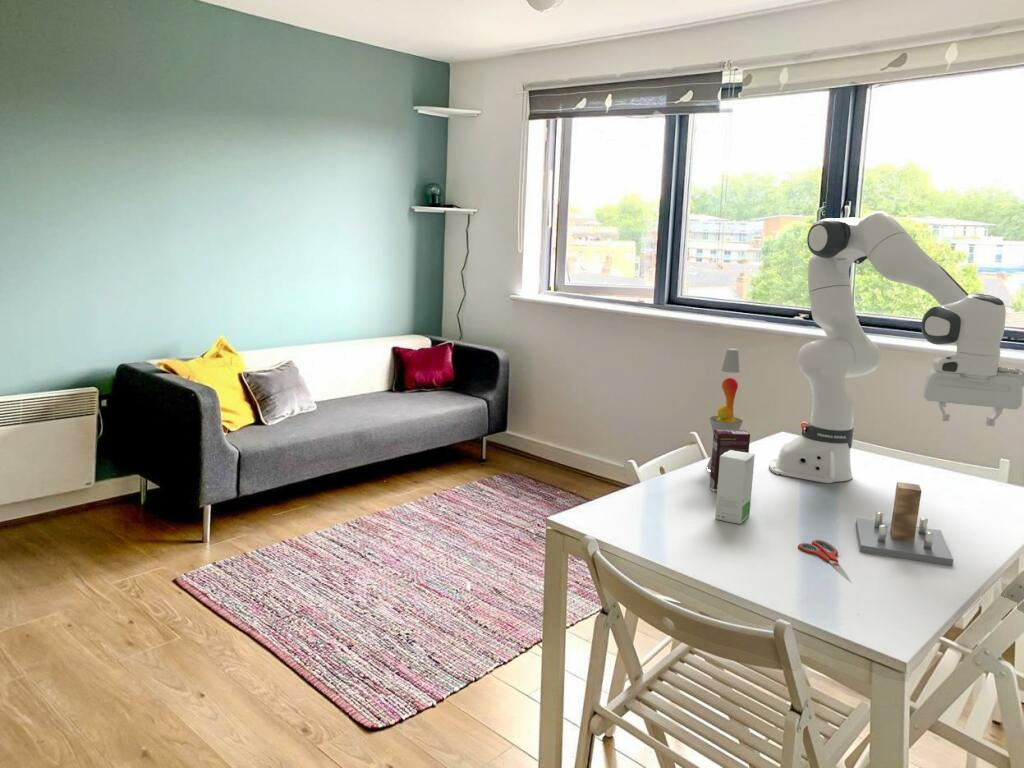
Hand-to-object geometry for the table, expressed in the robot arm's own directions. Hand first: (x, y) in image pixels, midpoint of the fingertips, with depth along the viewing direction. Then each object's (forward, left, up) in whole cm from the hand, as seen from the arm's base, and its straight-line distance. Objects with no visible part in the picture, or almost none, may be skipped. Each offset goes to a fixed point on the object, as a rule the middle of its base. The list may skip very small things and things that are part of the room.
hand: (967, 423), depth 192 cm
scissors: (-27, -37, -26) cm, 53 cm away
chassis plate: (-13, -19, -25) cm, 34 cm away
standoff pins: (-13, -19, -24) cm, 33 cm away
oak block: (-13, -19, -24) cm, 33 cm away
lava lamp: (-56, +20, -25) cm, 65 cm away
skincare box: (-50, -18, -25) cm, 59 cm away
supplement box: (-53, +3, -25) cm, 59 cm away
